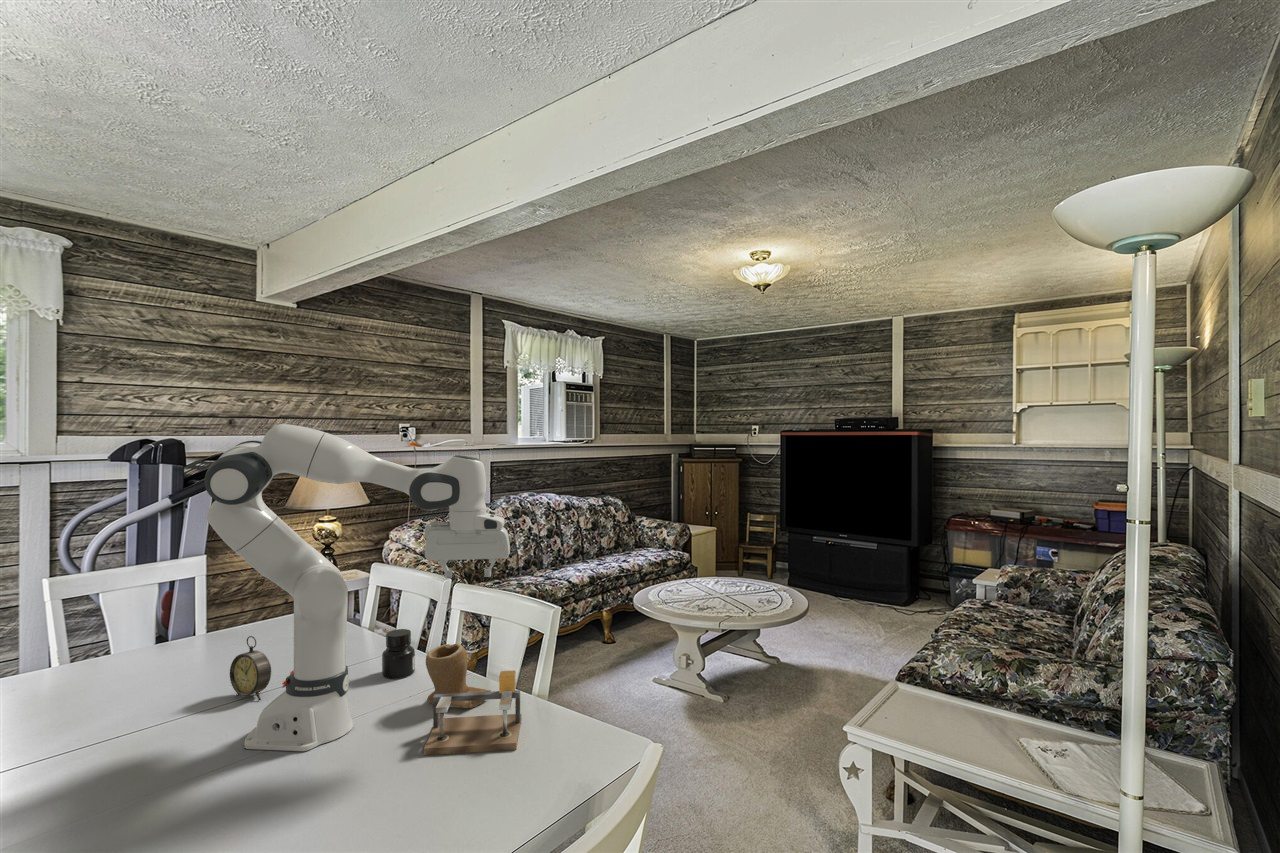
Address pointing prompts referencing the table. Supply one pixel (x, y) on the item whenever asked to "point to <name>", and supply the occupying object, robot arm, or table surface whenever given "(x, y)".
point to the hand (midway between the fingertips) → (468, 577)
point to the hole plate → (471, 727)
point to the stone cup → (450, 673)
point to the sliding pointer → (506, 693)
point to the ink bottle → (398, 655)
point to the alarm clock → (250, 672)
